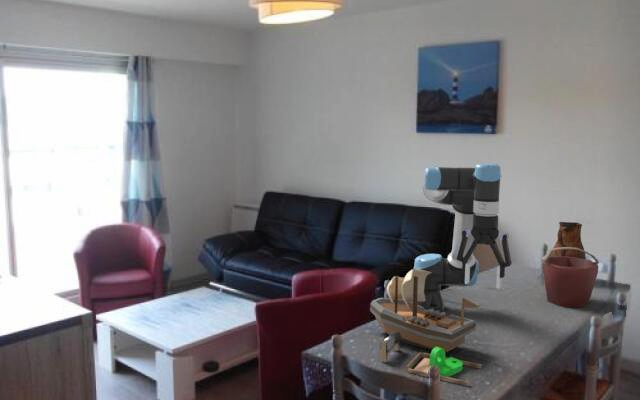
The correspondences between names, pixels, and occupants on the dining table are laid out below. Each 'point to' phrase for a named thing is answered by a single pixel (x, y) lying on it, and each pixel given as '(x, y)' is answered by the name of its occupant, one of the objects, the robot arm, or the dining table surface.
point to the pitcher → (569, 240)
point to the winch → (390, 345)
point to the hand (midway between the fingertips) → (482, 285)
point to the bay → (424, 367)
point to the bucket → (569, 278)
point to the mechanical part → (445, 362)
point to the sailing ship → (419, 315)
